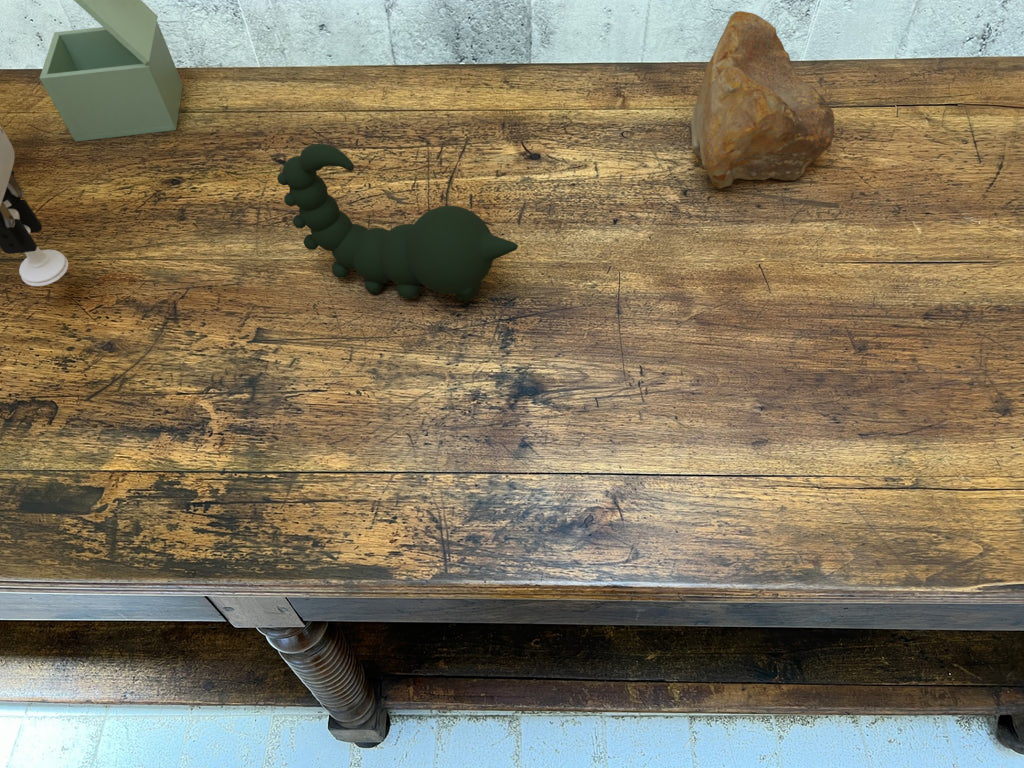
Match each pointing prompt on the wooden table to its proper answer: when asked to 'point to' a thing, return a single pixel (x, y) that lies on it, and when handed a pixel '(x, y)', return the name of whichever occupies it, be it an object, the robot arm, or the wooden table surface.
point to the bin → (111, 85)
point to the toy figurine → (391, 236)
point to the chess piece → (40, 262)
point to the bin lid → (125, 23)
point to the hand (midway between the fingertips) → (24, 239)
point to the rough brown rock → (757, 109)
